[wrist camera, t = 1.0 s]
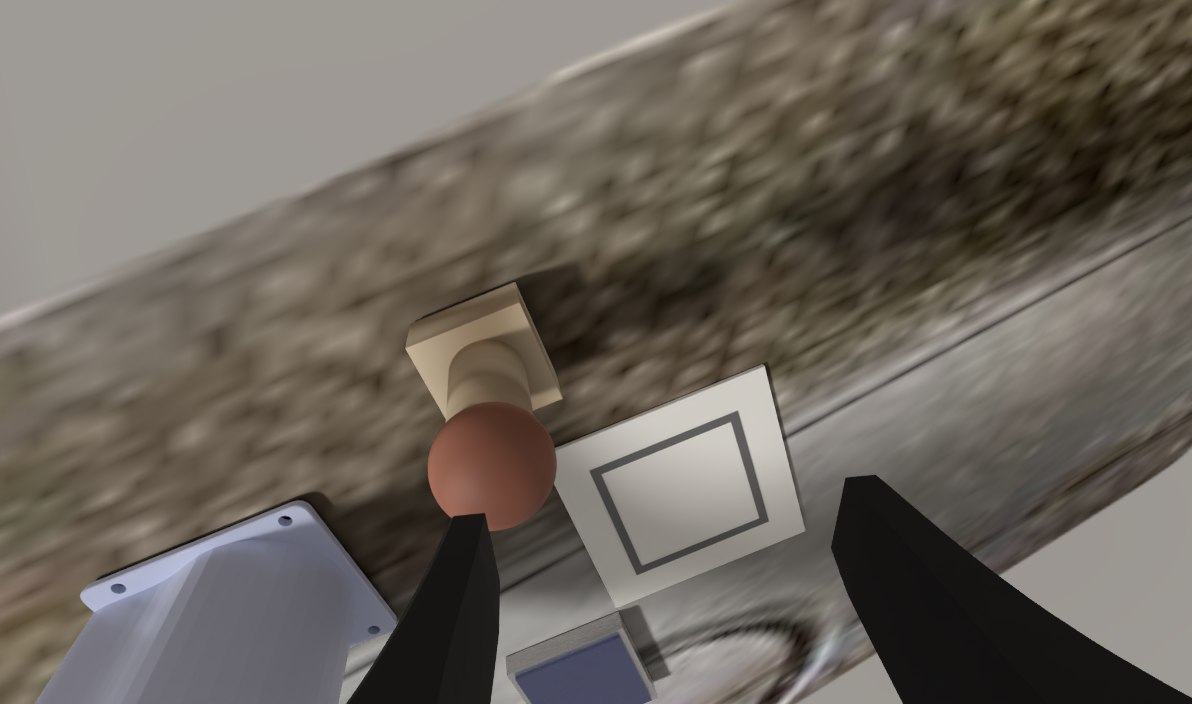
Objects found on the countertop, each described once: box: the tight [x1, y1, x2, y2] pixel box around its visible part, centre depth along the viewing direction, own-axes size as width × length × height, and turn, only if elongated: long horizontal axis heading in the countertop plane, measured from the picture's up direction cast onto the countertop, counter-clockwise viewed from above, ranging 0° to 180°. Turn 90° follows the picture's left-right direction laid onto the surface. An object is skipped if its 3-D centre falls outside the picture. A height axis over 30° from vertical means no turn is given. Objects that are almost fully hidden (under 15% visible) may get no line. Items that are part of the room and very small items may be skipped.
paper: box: [554, 364, 805, 608], centre depth 28 cm, size 10×10×1 cm
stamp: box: [405, 282, 563, 531], centre depth 19 cm, size 4×4×9 cm
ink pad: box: [506, 612, 658, 704], centre depth 32 cm, size 6×6×1 cm
